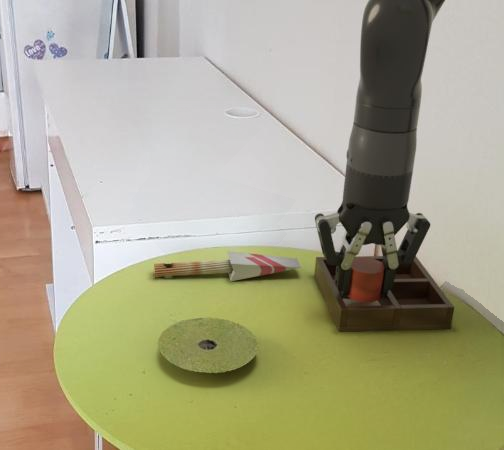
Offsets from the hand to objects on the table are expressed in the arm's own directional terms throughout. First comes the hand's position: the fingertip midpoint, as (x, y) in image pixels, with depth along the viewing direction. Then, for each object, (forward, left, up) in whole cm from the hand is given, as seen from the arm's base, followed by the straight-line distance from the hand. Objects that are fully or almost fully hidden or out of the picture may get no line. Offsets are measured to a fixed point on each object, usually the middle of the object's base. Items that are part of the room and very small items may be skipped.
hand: (363, 291), depth 93 cm
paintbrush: (+16, -11, -4) cm, 20 cm away
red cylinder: (0, 0, 0) cm, 0 cm away
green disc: (+20, +8, -4) cm, 22 cm away
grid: (-3, -3, -3) cm, 6 cm away
